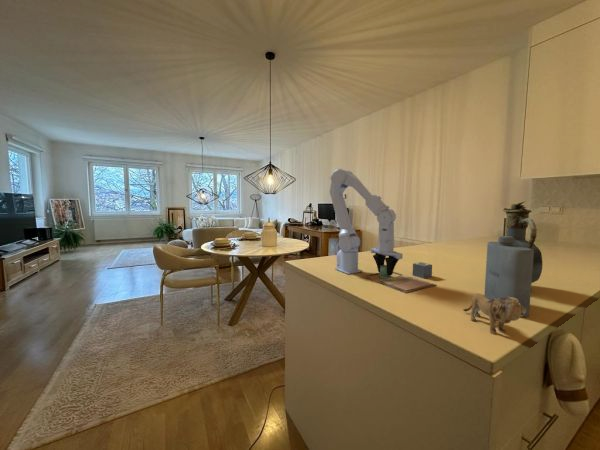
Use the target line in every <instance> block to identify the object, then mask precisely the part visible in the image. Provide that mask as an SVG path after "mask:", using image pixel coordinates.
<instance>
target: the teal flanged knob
mask: <svg viewBox="0 0 600 450" xmlns="http://www.w3.org/2000/svg"><path fill="white" fill-rule="evenodd" d="M379 273H380V274H378V278H380V279H387V278H392V275H387V265H386V264H384V265H380V272H379Z"/></svg>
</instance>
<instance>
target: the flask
mask: <svg viewBox="0 0 600 450" xmlns="http://www.w3.org/2000/svg"><path fill="white" fill-rule="evenodd" d="M513 243H515V238H513V237H510V236H507V235H500V236H499V237H498V238H497V241H488V242H487V245H486V247H487V248H486V262H485V263H486V264H485V280H484V282H485V283H484V294H483V295H485V296H486V297H487V299H489V300H492V299H495V298H496V299H498V298H504V297H514V298H517V299H518V301H519V303H520V304H521V306H522V307H524V308H525V309H526V313H525V314H523V316H520V318H527V317H529V316H530V310H531V309H530V307H531V306H530V305H531V292H532V284H533V283H532V270H533V257H534V250H532V249H529V248H524V247H519V246H515V245H513Z"/></svg>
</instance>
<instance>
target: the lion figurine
mask: <svg viewBox="0 0 600 450" xmlns="http://www.w3.org/2000/svg"><path fill="white" fill-rule="evenodd" d="M470 310H471V311H470ZM462 311H464V312H469V311H470V321H472V322H476V321H477V318H476V317H480V316H481V314H480V313H479V311H481V312H482V313H483V314H484V315H486V316H487V317H488V318H489V333H490V334H492V335H497V334H498V332H497V331H499V332H500V333H502V334H505V333H506V332H507V330H506V329H504V328H503V327H504V325H505V324H510V323H511V322H513V321H518V320H519V319H520V318H521V317H520V316H523V314H525V313H526V309H525V308H524V307H522V306H521V304H520V303H519V301H518V299H517V298H514V297H504V298H498V299H496V298H495V299H492V300H489V299H487V297H486V296H485V295H484V294H482V293H477V292H476V293H475V294H473V296H472V298H471V303H470V306H469V307H468V308H464V309H463V310H462ZM496 324H497V325H496ZM496 326H497V329H496Z"/></svg>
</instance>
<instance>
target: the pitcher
mask: <svg viewBox="0 0 600 450" xmlns="http://www.w3.org/2000/svg"><path fill="white" fill-rule="evenodd" d="M524 203H526V200H524V201H522V202H519V203H512V204H511V205H510V207H509V208H503V209H502V211H503V212H505V213H506V214H505V215H506V220H507V221H506V224H505V225H506V236H510V237H513V238H515V243H513V245H515V246H519V247H524V248H529V249H532V250H534V257H533V270H532V283H531V284H533V283H535V282H537V281H539V279H540V278H541V275H542V271H543V255H542V251H541V250H540V248H539V247H538V246H537V245H536V244H535V242H536V238H537V232H538V230H537V225H536V223H535V222H534V220H533V219H532V218H530V213H532V212H533V210H531V209H527V208H528V207H527V206H526V207H525V206H524V205H523V204H524ZM528 227H530V228H529V229H530V232H529V233H530V237H529V239H528V240H526V234H527V229H528Z"/></svg>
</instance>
